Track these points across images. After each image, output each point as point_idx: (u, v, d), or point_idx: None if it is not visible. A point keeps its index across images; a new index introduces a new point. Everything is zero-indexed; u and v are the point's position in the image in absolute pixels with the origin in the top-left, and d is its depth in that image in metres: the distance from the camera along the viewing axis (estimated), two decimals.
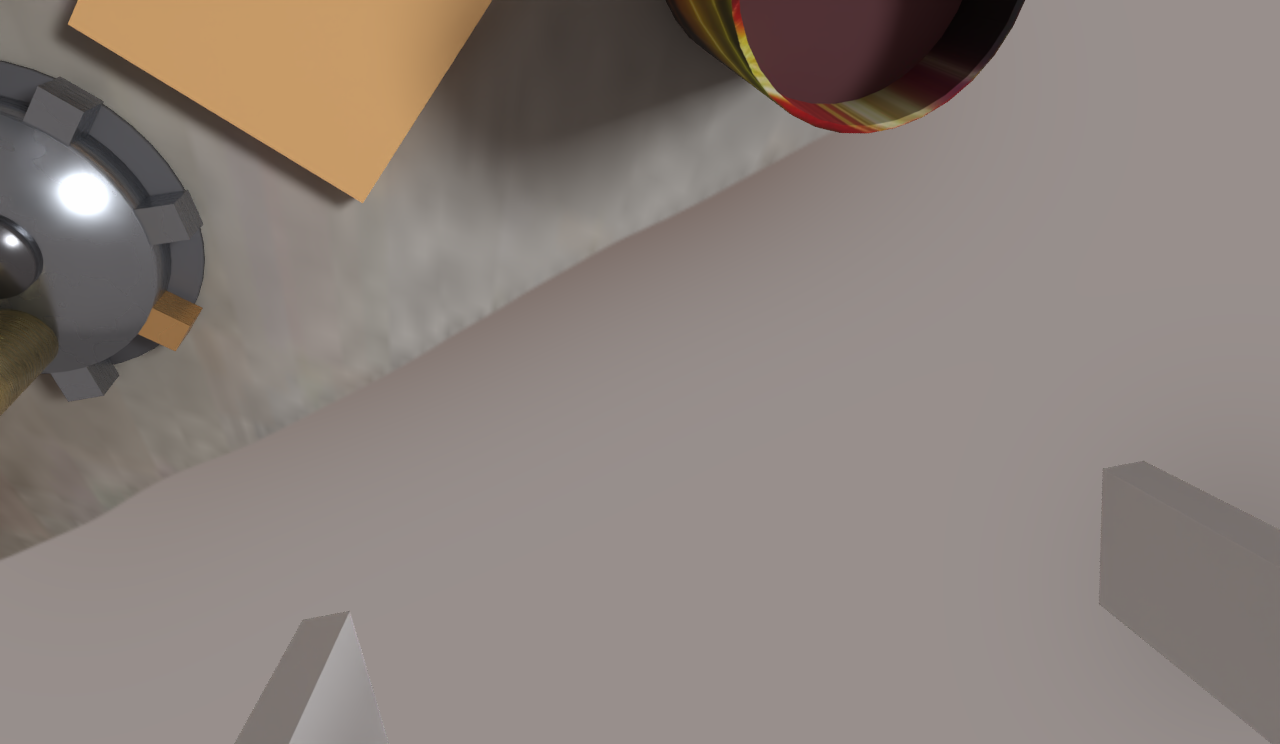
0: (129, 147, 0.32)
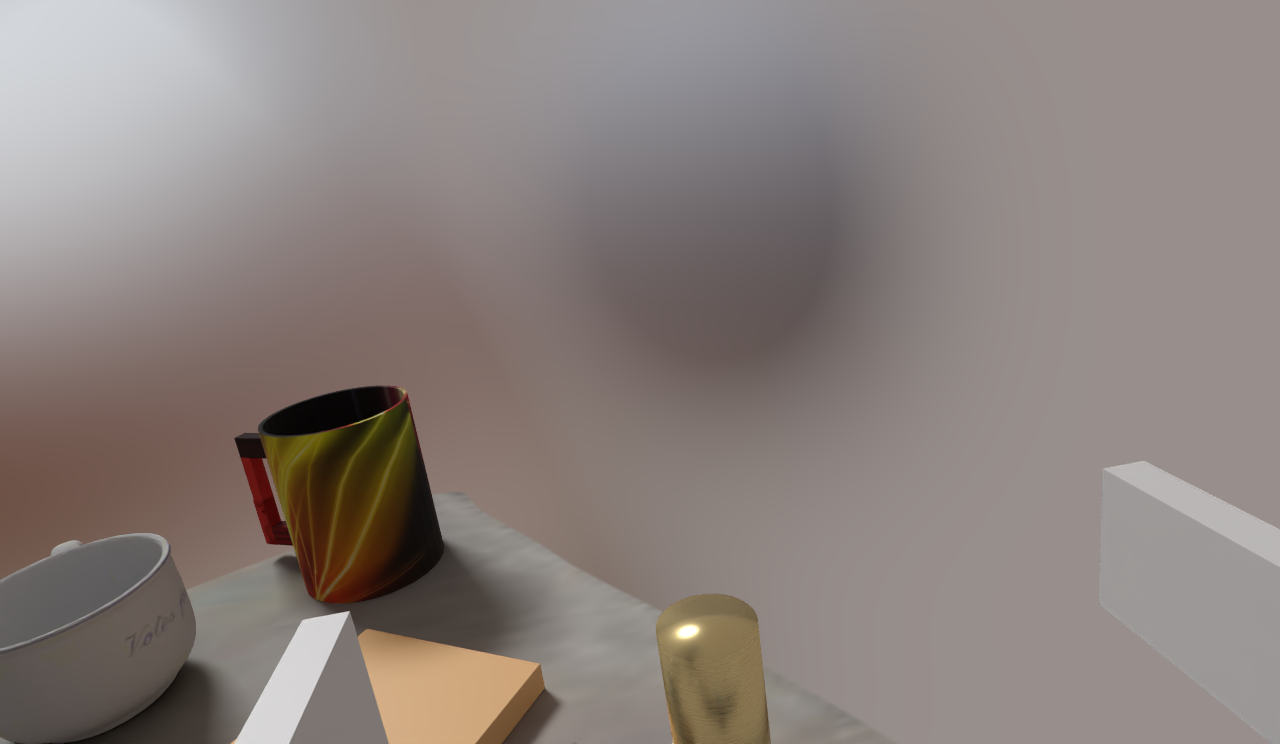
0: None
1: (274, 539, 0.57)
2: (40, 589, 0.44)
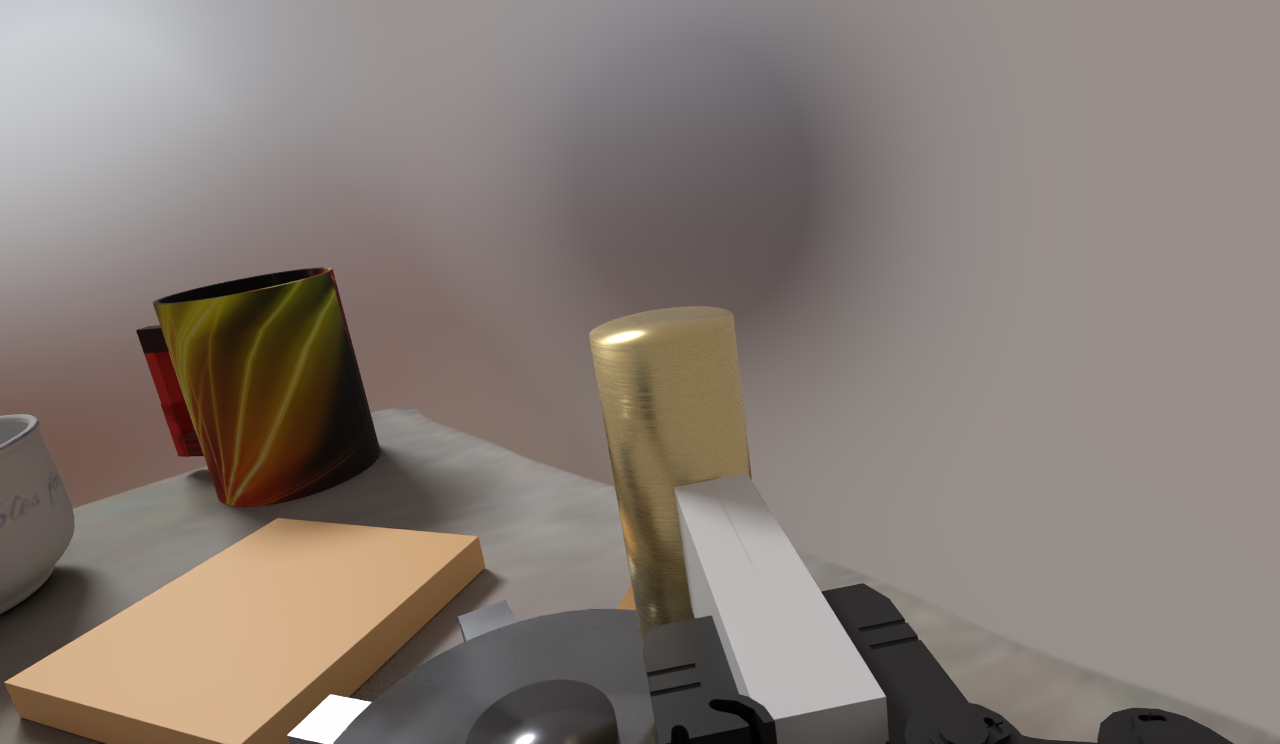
0: None
1: (186, 451, 0.50)
2: None
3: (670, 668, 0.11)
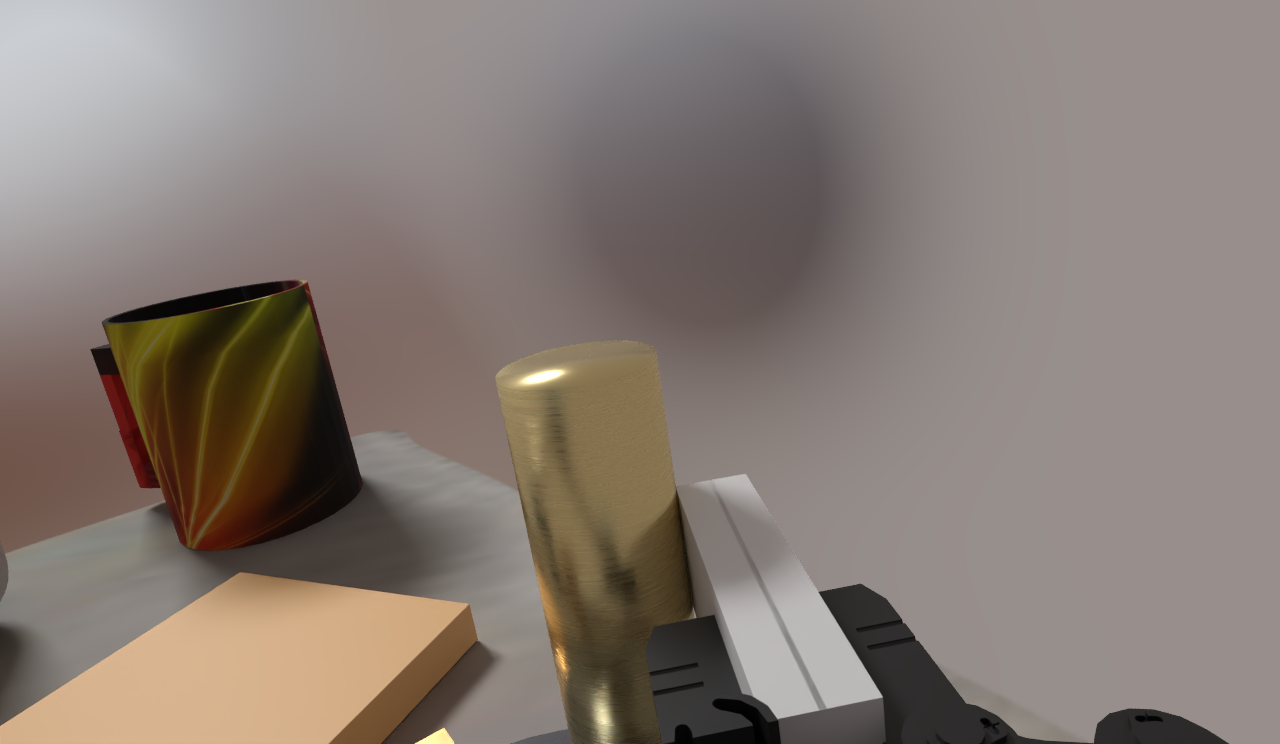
0: None
1: (148, 482, 0.45)
2: None
3: (672, 667, 0.11)
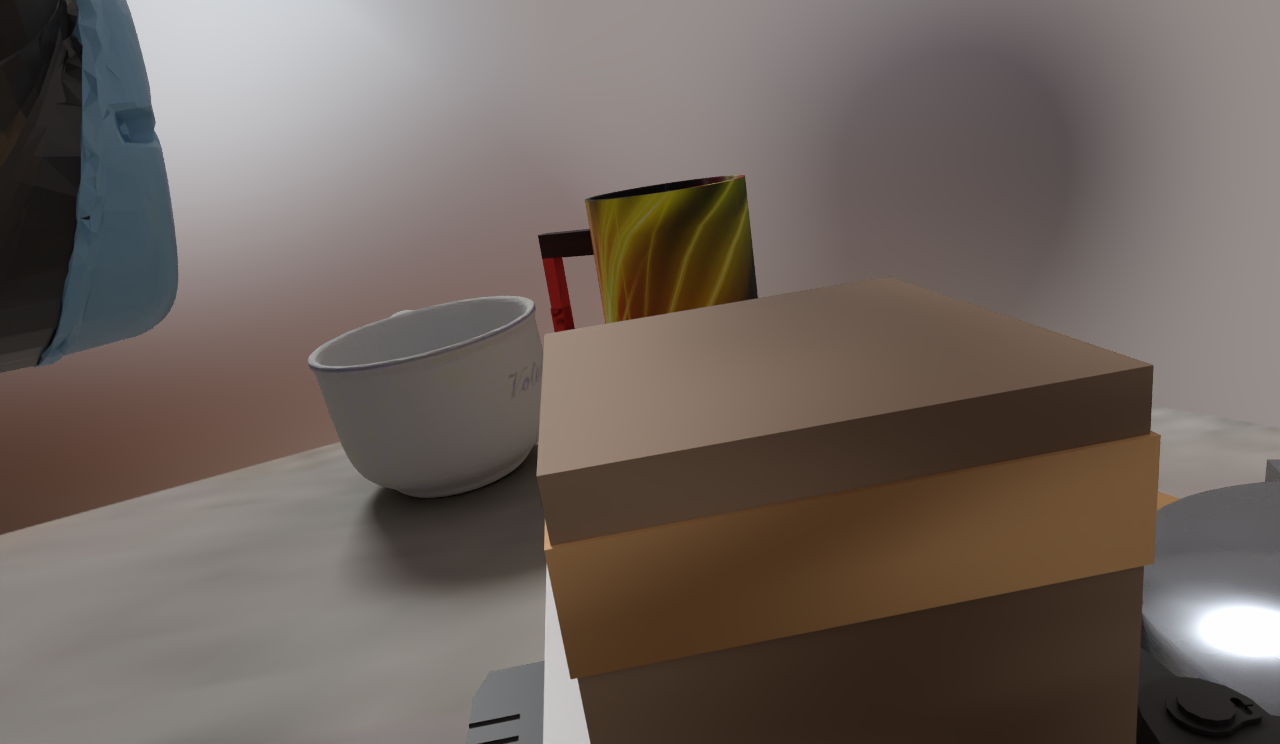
0: None
1: None
2: (387, 348, 0.40)
3: (493, 719, 0.10)
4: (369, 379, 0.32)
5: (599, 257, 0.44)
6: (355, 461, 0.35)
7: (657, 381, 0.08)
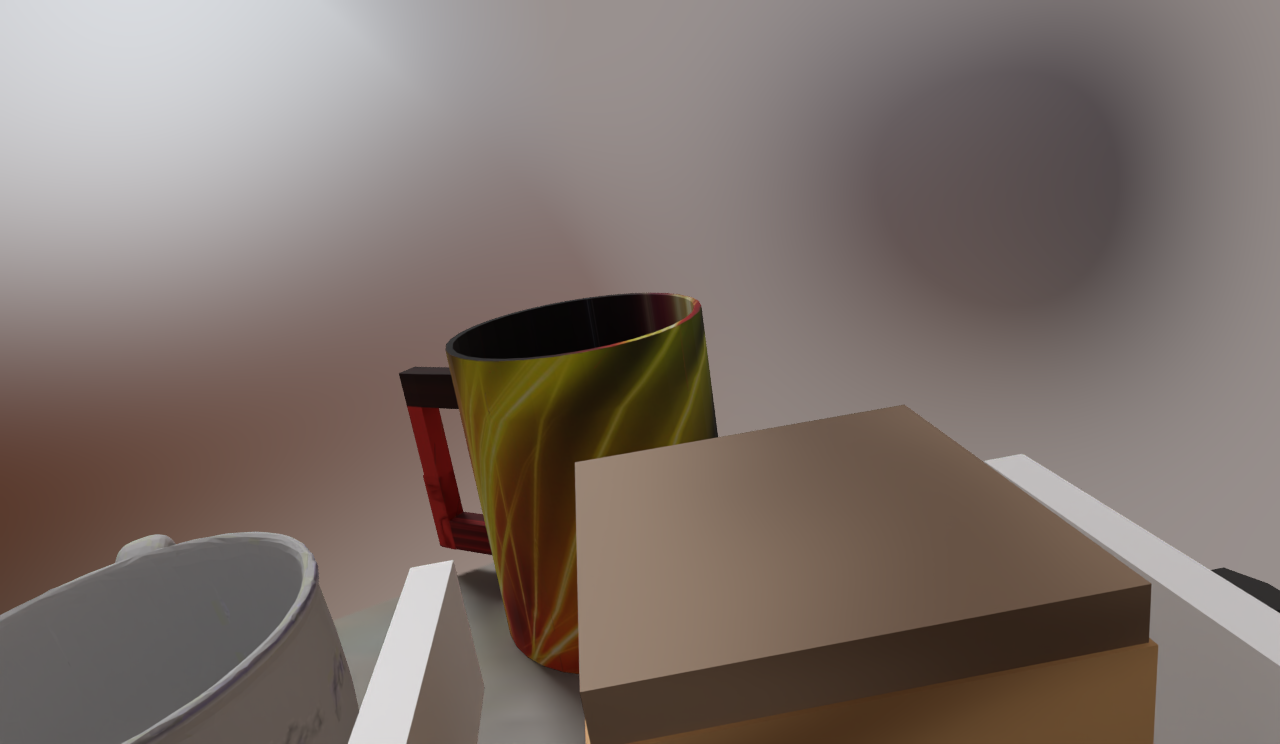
0: None
1: (453, 541, 0.36)
2: (89, 626, 0.23)
3: None
4: None
5: (467, 438, 0.28)
6: None
7: (686, 553, 0.08)
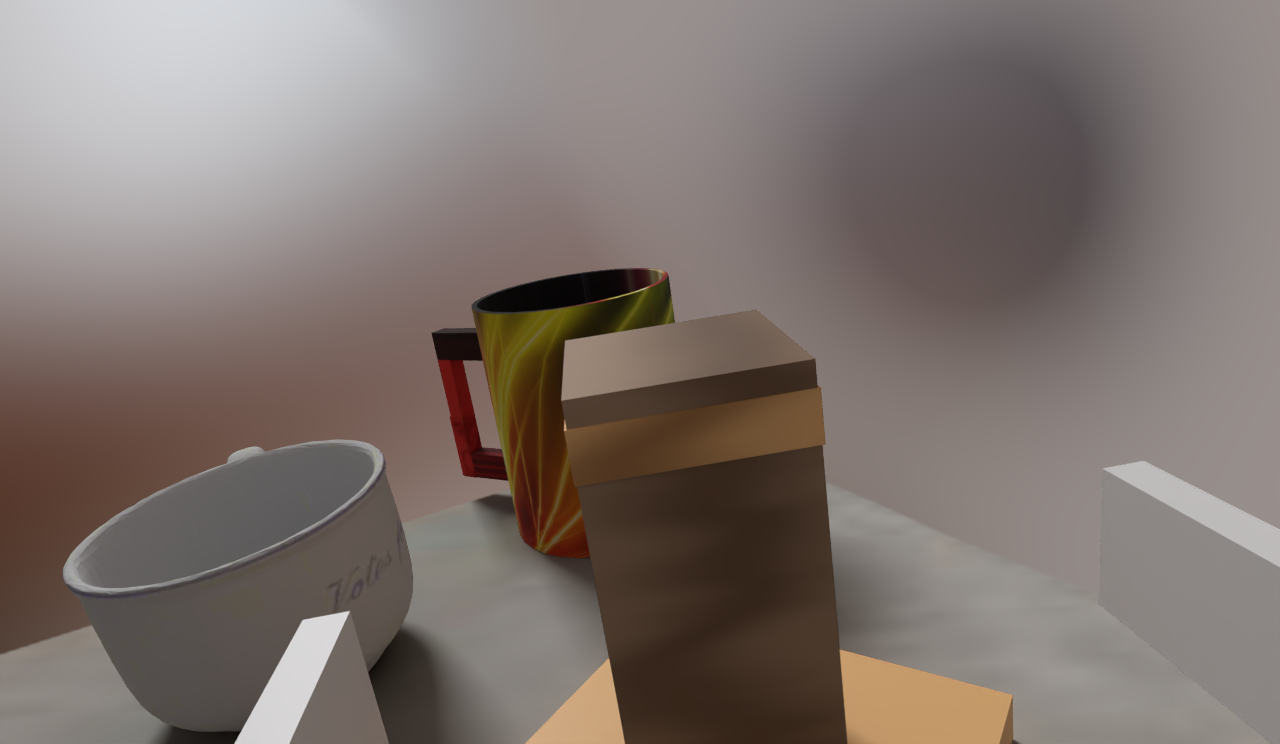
0: None
1: (473, 471, 0.44)
2: (213, 507, 0.32)
3: None
4: (121, 608, 0.23)
5: (488, 376, 0.36)
6: None
7: (617, 365, 0.16)
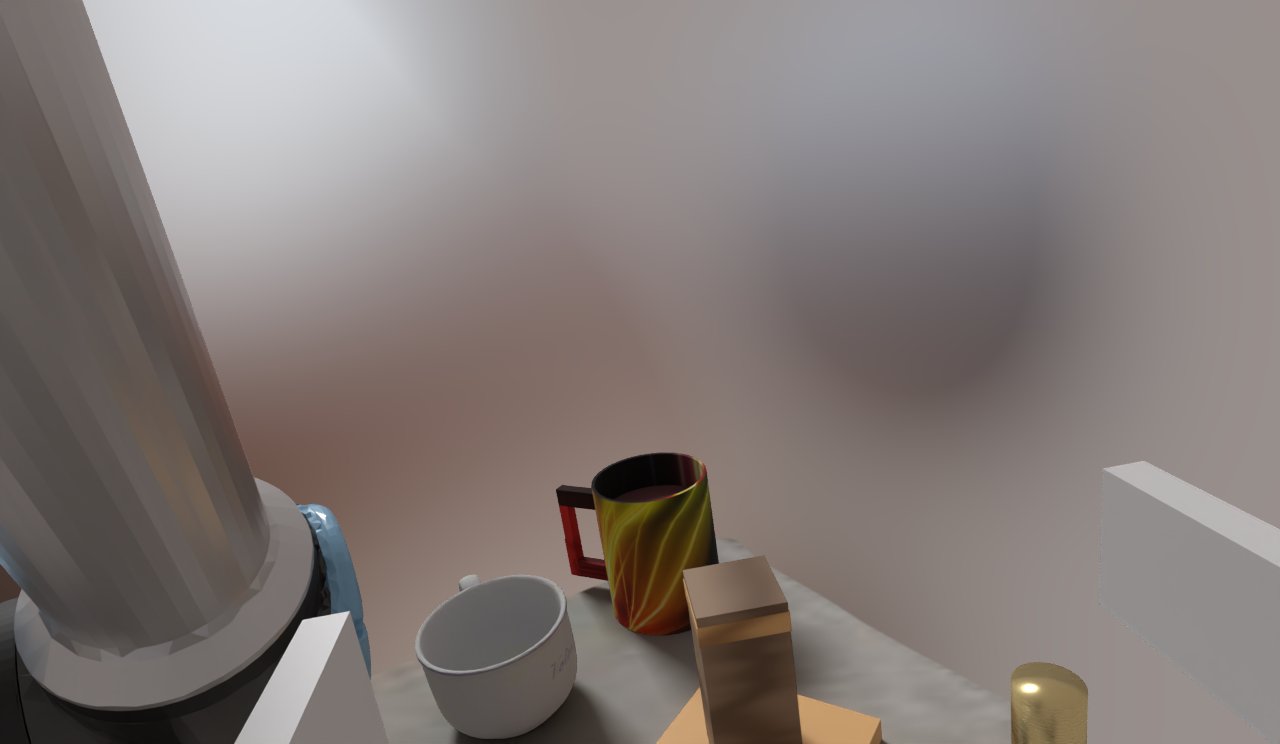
0: None
1: (579, 572, 0.70)
2: (460, 614, 0.57)
3: None
4: (461, 680, 0.49)
5: (601, 529, 0.62)
6: (447, 718, 0.52)
7: (711, 595, 0.42)
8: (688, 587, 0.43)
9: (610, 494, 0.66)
